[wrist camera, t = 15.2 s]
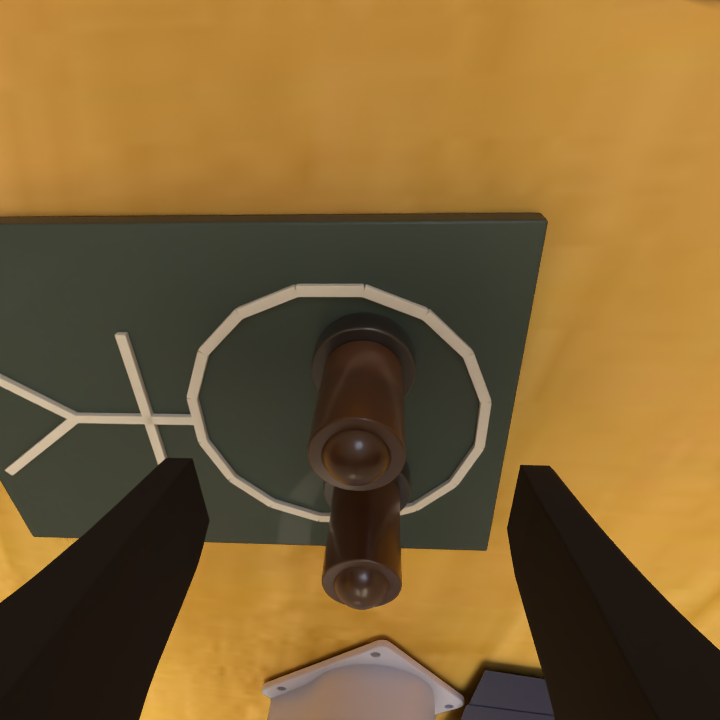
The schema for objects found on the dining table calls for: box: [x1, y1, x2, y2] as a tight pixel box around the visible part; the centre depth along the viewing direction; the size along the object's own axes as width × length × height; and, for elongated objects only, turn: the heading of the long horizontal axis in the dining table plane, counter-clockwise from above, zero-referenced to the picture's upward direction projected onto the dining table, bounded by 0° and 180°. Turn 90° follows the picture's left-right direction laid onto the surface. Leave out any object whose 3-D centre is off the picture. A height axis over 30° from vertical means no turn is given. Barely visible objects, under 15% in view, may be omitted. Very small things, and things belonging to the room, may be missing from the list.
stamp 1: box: [307, 313, 416, 491], centre depth 13 cm, size 3×3×5 cm
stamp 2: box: [322, 461, 411, 610], centre depth 16 cm, size 3×3×5 cm
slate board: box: [0, 213, 548, 551], centre depth 17 cm, size 20×14×1 cm
